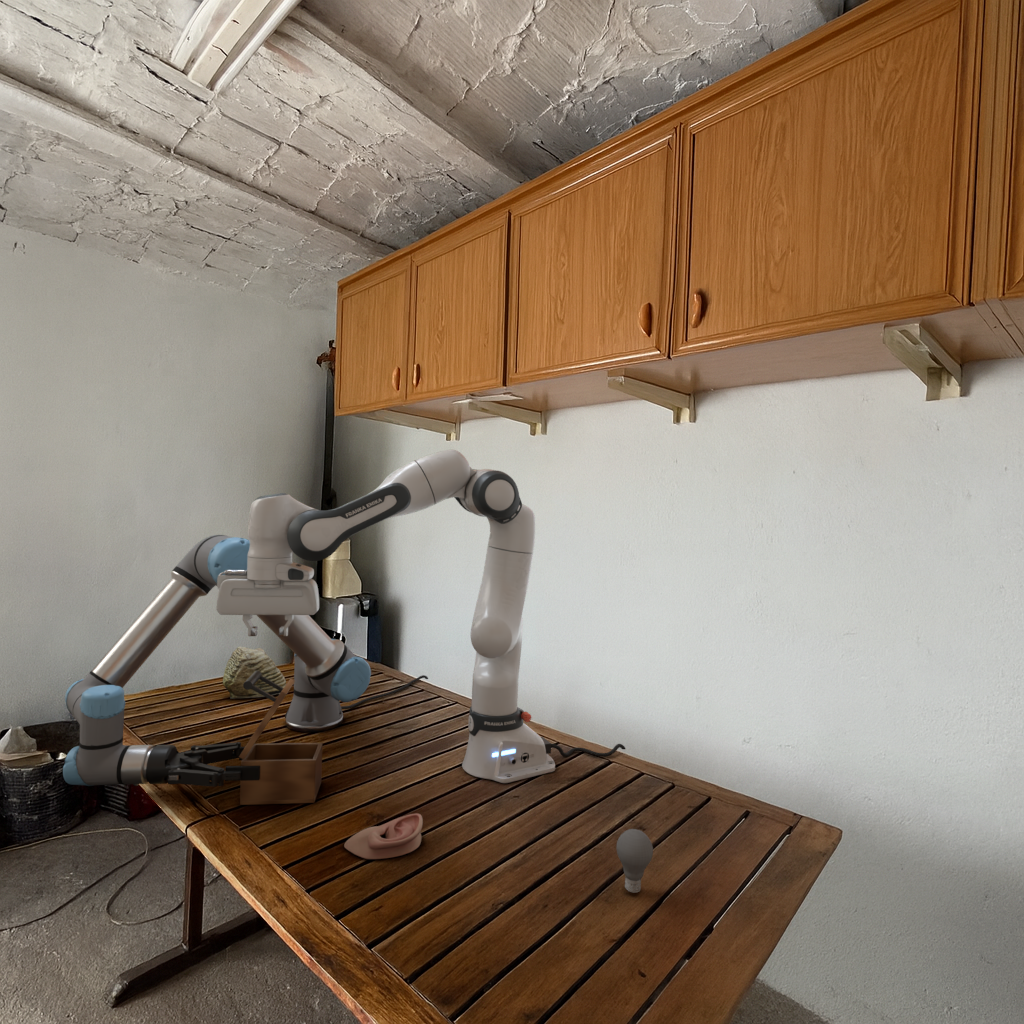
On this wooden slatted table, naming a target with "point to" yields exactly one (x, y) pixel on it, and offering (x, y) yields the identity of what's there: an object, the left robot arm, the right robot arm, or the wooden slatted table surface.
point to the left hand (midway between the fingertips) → (265, 762)
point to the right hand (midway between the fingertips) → (268, 635)
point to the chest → (283, 773)
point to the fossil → (244, 666)
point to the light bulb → (634, 857)
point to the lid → (277, 701)
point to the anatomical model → (387, 838)
